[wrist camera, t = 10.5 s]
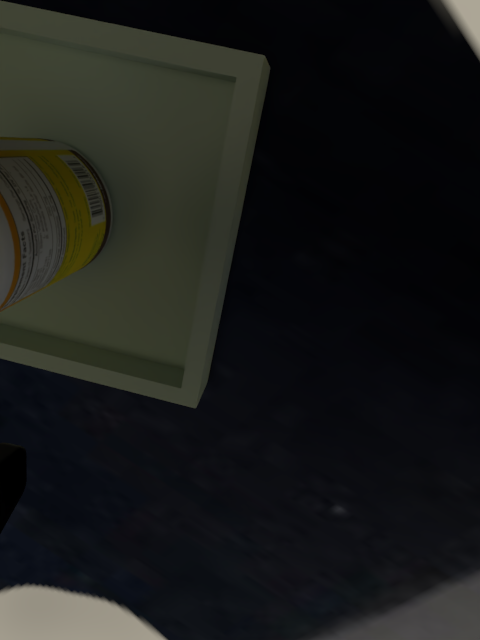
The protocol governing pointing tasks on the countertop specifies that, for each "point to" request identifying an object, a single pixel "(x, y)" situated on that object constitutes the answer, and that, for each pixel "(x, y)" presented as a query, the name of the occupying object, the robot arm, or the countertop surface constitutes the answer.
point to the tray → (134, 194)
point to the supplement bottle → (47, 215)
